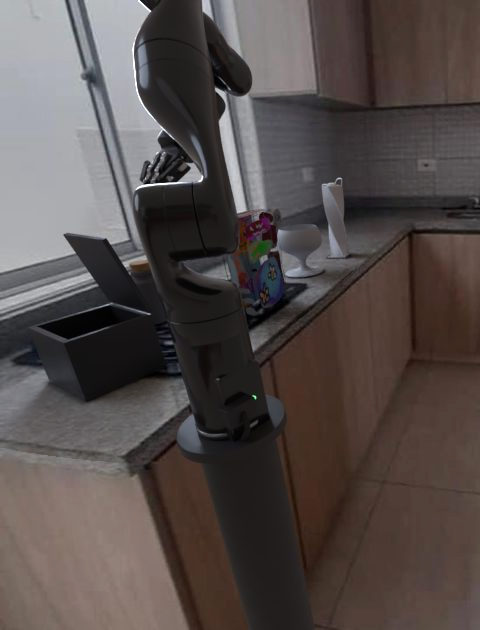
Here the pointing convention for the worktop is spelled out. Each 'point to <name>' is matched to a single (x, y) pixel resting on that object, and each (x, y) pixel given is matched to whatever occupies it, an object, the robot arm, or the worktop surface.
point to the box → (258, 261)
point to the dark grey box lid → (108, 270)
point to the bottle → (148, 289)
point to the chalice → (300, 246)
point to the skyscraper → (335, 220)
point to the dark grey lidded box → (98, 349)
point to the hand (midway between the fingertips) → (142, 203)
